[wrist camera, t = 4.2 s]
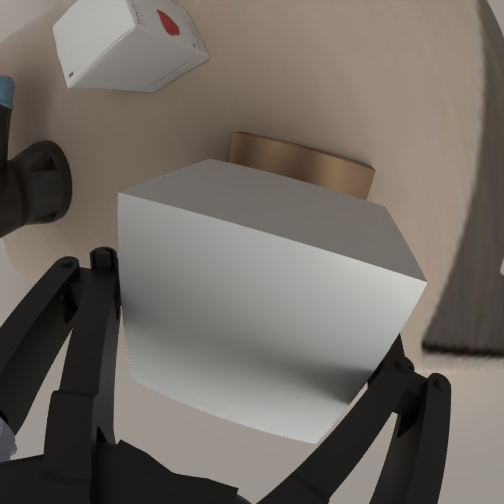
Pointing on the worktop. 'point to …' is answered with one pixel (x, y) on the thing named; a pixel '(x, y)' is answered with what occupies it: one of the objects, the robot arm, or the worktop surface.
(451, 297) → the worktop surface
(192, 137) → the worktop surface
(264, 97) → the worktop surface
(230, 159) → the board
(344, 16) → the worktop surface
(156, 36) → the supplement box
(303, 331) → the grey square block
